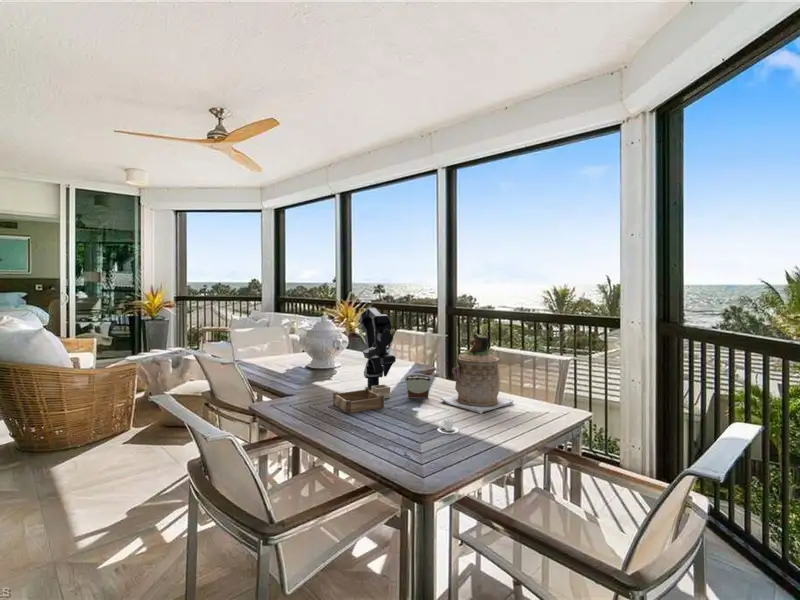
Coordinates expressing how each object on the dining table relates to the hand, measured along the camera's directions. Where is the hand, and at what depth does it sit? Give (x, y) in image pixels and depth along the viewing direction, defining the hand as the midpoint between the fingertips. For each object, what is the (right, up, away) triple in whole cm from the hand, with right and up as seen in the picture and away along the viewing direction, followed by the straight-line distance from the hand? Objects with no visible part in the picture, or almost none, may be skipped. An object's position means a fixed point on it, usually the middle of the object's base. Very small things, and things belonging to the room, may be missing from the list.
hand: (380, 374), depth 209 cm
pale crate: (0, -11, 0) cm, 11 cm away
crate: (-9, -11, -14) cm, 20 cm away
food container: (+18, -11, +1) cm, 21 cm away
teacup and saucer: (+29, -14, -42) cm, 52 cm away
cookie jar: (+44, -12, -9) cm, 46 cm away
